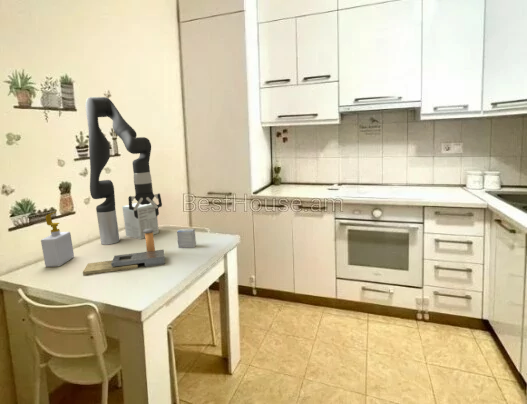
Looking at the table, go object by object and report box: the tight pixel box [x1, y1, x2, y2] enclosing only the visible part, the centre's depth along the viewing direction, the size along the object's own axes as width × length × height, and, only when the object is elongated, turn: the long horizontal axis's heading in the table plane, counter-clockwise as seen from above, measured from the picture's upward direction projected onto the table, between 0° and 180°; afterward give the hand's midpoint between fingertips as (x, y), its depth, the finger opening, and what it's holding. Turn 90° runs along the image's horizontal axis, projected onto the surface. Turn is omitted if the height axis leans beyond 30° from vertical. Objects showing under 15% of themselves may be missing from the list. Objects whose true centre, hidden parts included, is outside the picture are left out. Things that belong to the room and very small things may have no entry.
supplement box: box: [121, 202, 160, 240], centre depth 195 cm, size 13×13×18 cm
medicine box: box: [176, 228, 197, 249], centre depth 171 cm, size 8×4×9 cm, turn 84°
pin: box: [143, 228, 156, 252], centre depth 161 cm, size 5×5×12 cm
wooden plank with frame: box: [82, 249, 166, 276], centre depth 149 cm, size 32×10×4 cm, turn 106°
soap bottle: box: [40, 211, 75, 268], centre depth 156 cm, size 12×7×23 cm, turn 179°
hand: (147, 217), depth 159 cm, fingers open, 8 cm apart
